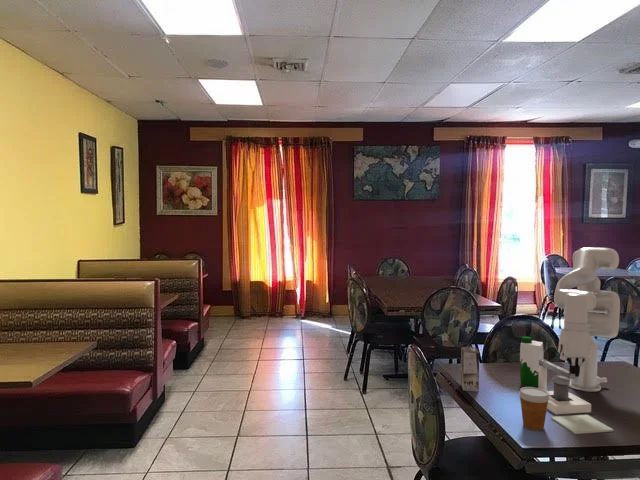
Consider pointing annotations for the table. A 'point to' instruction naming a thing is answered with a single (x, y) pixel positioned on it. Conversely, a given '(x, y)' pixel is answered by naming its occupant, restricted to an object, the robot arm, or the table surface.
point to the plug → (561, 388)
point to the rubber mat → (581, 424)
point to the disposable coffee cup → (534, 407)
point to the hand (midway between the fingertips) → (574, 375)
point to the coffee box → (470, 369)
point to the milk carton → (530, 361)
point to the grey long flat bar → (557, 369)
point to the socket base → (562, 407)
